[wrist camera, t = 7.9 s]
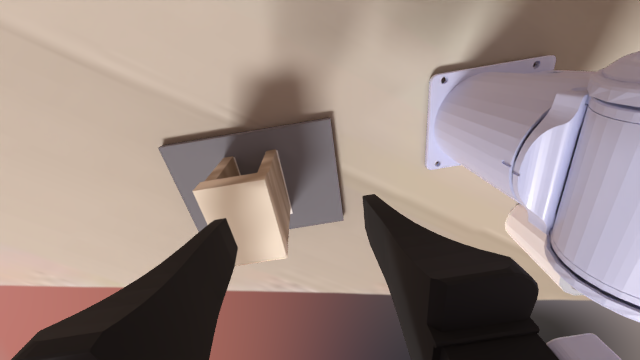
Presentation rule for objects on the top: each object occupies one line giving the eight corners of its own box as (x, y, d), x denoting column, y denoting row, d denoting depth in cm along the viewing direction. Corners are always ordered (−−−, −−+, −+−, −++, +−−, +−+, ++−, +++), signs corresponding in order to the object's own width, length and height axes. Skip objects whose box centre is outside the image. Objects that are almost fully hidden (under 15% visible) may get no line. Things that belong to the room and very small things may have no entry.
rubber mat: (329, 117, 20) (330, 119, 19) (342, 216, 24) (343, 221, 23) (162, 145, 20) (157, 148, 19) (206, 238, 24) (203, 243, 24)
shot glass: (506, 251, 28) (565, 307, 21) (492, 210, 25) (555, 261, 19) (568, 223, 26) (650, 274, 20) (560, 177, 24) (653, 219, 17)
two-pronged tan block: (275, 146, 20) (264, 179, 14) (291, 210, 23) (287, 257, 17) (222, 155, 20) (192, 191, 14) (245, 218, 23) (227, 267, 17)
